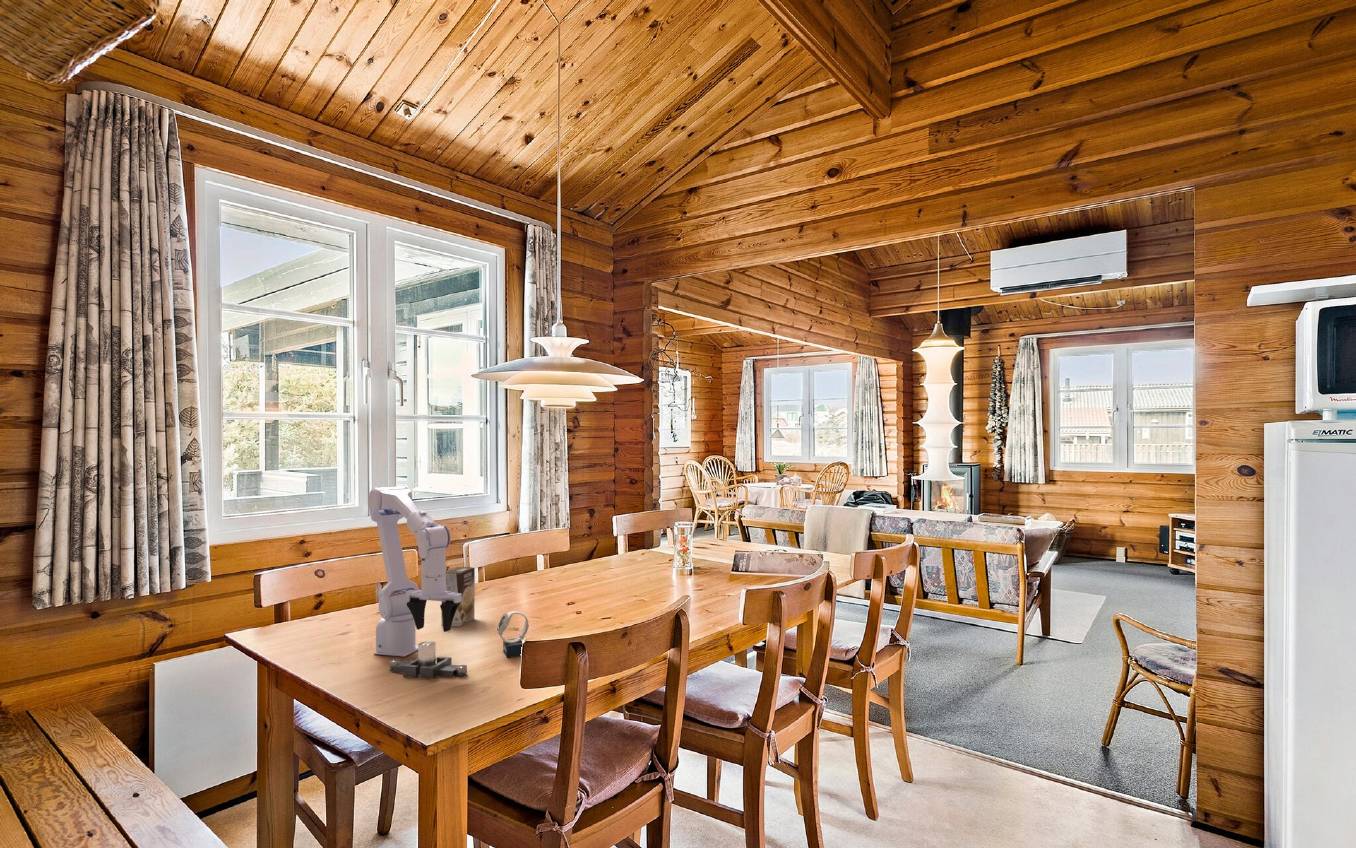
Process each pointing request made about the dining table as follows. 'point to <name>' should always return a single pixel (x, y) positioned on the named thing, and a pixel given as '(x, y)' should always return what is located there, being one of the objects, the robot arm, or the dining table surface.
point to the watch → (511, 645)
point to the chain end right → (443, 669)
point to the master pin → (426, 654)
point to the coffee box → (464, 584)
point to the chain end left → (405, 667)
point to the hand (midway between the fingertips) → (433, 629)
